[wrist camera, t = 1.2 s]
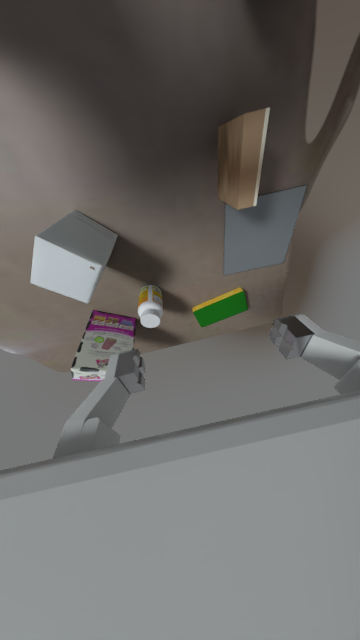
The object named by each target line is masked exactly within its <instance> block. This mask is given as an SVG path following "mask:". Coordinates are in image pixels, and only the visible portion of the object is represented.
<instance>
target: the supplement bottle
mask: <svg viewBox="0 0 360 640" xmlns="http://www.w3.org/2000/svg"><path fill="white" fill-rule="evenodd" d="M138 314H139V316H140V318H141V320H140V321H141V324H142V325H143V326H144V327H147V328H154V327H156V326H158V325H159V324H160V318H161V317H162V315H163V303H162V293H161V290H160V289H159V288H158V287H157V286H154V285H147V286H144V287H143V288H142V289H141V290H140V294H139V304H138Z"/></svg>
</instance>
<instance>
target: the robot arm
mask: <svg viewBox="0 0 360 640" xmlns="http://www.w3.org/2000/svg"><path fill="white" fill-rule="evenodd" d="M272 325H273V326H274V327H273V328H272V329H271V330H270V339H271V341H272V342H273V344H274V345H276V346H278V347H279V351H280V352H281V354H282V355H283V356H284V357H285V358H286V359H291V358H296V357H302V358H303V359H305V360H306V361H308V362H310V363H311V364H313V365H315V366H316V367H318V368H320V369H322V370H323V371H325V372H327V373H329V374H330V375H332V376H334V377H335V378H337V379H339V381H338V382H337V384H336V385H335V387H334V388H335V389H336V390H337V391H338V392H339V394H340V395H336V396H331V397H327V398H323V399H318V400H314V401H309V402H305V403H300V404H296V405H291V406H287V407H283V408H278V409H273V410H269V411H264V412H260V413H255V414H251V415H246V416H242V417H238V418H233V419H228V420H225V421H220V422H215V423H210V424H206V425H201V426H197V427H193V428H188V429H184V430H179V431H174V432H170V433H166V434H161V435H157V436H152V437H148V438H143V439H139V440H134V441H130V442H125V443H121V444H119V442H120V435H119V434H118V433H117V432H116V431H114V430H113V429H112V427H113V425H114V423H115V422H116V420H117V418H118V416H119V414H120V413H121V411H122V409H123V407H124V405H125V403H126V402H127V400H128V398H129V396H130V394H131V393H136V392H140V391H144V390H145V379H144V377H143V375H144V374H145V363H144V360H143V358H142V357H140V352H139V350H138V349H135V350H130V351H125V352H120V353H115V354H111V356H110V358H109V362H108V366H107V370H106V375H105V379H104V380H102V381H101V382H100V383H99V384H98V385H97V387H96V388H95V389H94V390H93V391H92V392H91V394H90V395H89V396H88V397H87V398H86V399H85V401H84V402H83V403H82V404H81V405H80V407H79V408H78V409H77V410H76V411H75V412H74V414H73V415H72V416H71V417H70V418H69V419H68V421H67V422H66V423H65V426H64V428H63V431H62V434H61V437H60V440H59V442H58V445H57V448H56V450H55V453H54V456H53V459H49V460H45V461H40V462H36V463H31V464H27V465H23V466H18V467H14V468H9V469H5V470H0V640H360V342H357V341H354V340H351V339H348V338H345V337H342V336H339V335H337V334H333V333H331V332H324V331H323V330H322V329H321V328H320V327H318V326H317V325H316V324H315V323H313V322H312V321H311V320H310V319H308V318H307V317H306V316H305V315H303V314H297V315H292V316H288V317H283V318H279V319H275V320H274V321H273V323H272Z"/></svg>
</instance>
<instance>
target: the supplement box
mask: <svg viewBox="0 0 360 640" xmlns="http://www.w3.org/2000/svg"><path fill="white" fill-rule="evenodd" d="M117 237H118V235H117V234H115V233H113V232H112V231H110V230H108V229H107V228H105V227H103V226H102V225H100V224H98V223H97V222H95V221H93V220H91V219H90V218H88V217H86V216H85V215H83V214H81V213H80V212H78V211H76V210H74V211H72V212H71V213H69V214H67V215H66V216H65V217H63V218H61V219H60V220H58V221H57V222H56V223H54V224H52V225H51V226H49V227H48V228H46V229H45V230H43V231H42V232H40V233H39V234H37V235H35V241H34V250H33V261H32V272H31V283H32V284H34V285H37V286H40V287H43V288H46V289H48V290H51V291H54V292H57V293H60V294H63V295H66V296H68V297H71V298H74V299H77V300H79V301H82V302H85V303H89V301H90V299H91V297H92V295H93V293H94V291H95V289H96V286H97V284H98V282H99V280H100V278H101V275H102V273H103V271H104V269H105V267H106V264H107V262H108V260H109V258H110V255H111V253H112V250H113V248H114V245H115V242H116V239H117Z"/></svg>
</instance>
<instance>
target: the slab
mask: <svg viewBox="0 0 360 640" xmlns="http://www.w3.org/2000/svg"><path fill="white" fill-rule="evenodd" d="M269 111H270V107H269V108H265V109H261V110H257V111H253V112H249V113H245V114H243V115H241V116H239V117H237V118H235V119H233V120H231V121H229V122H227V123H225V124H223V125H221V126H219V127H218V199H220V200H222V201H223V202H225V203H227V204H228V205H230V206H232V207H233V208H235V209H237V210H239V209H243V208H248V207H252V206H256V204H257V197H258V190H259V183H260V175H261V168H262V161H263V154H264V147H265V140H266V133H267V126H268V118H269Z"/></svg>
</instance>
